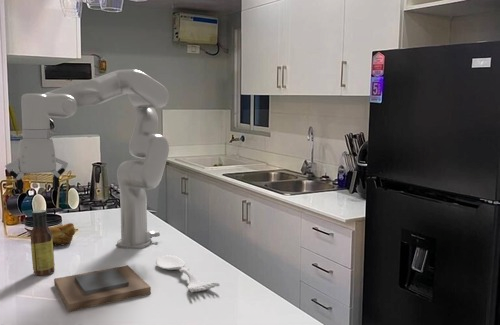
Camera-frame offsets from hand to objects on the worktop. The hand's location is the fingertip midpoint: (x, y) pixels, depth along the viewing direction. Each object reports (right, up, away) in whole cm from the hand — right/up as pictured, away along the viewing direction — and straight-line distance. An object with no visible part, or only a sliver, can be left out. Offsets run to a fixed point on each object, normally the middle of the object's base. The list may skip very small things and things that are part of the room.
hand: (38, 191), depth 143 cm
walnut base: (+22, -28, -8) cm, 36 cm away
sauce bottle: (0, -26, +4) cm, 26 cm away
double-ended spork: (+44, -27, +2) cm, 52 cm away
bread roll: (-8, -22, +33) cm, 40 cm away
